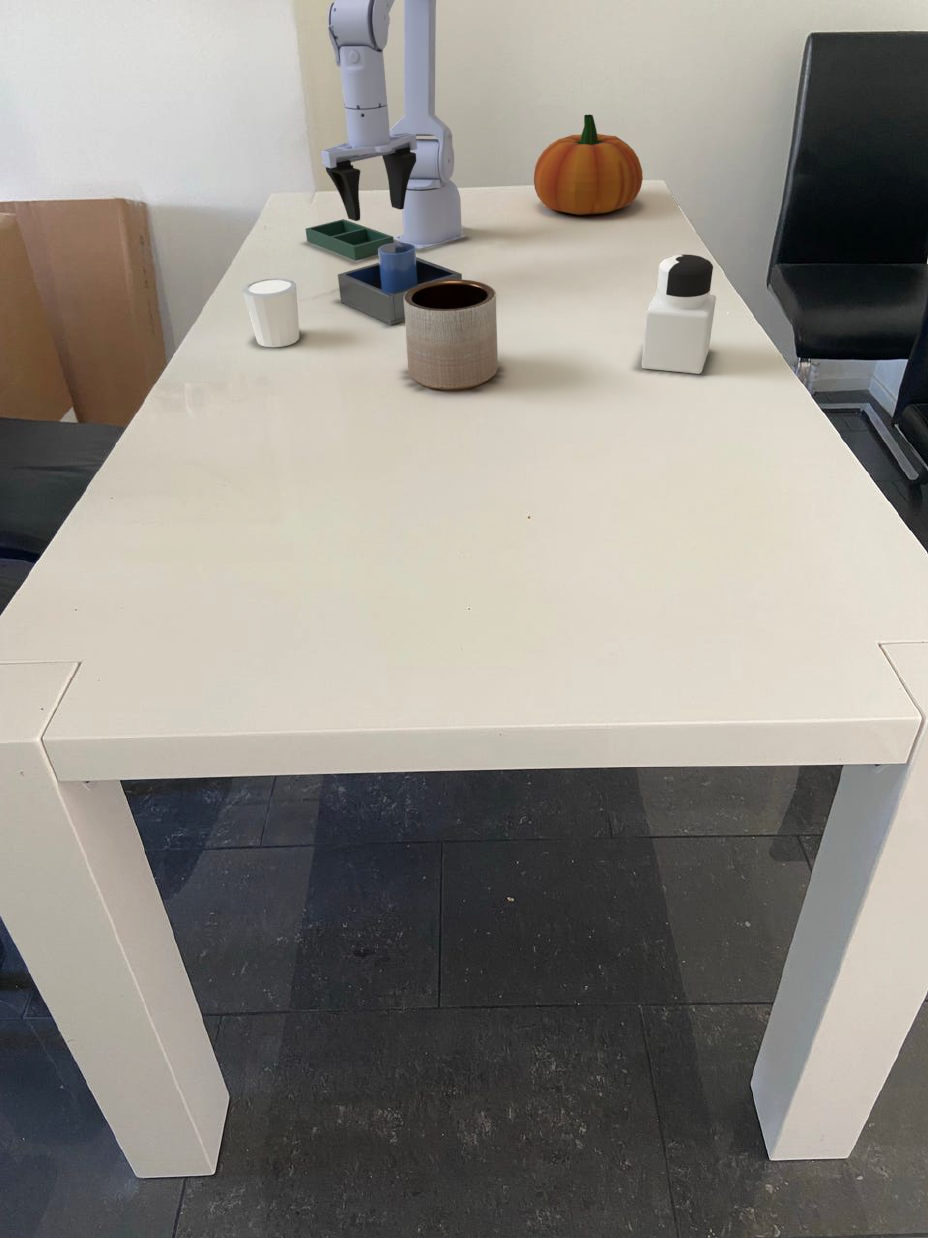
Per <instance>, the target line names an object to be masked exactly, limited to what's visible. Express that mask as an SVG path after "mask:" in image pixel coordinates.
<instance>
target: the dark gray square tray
mask: <svg viewBox="0 0 928 1238" xmlns="http://www.w3.org/2000/svg"><path fill="white" fill-rule="evenodd" d="M416 265H417V280H418V285H421V284H424V283H428V282H432V281H439V280H452V279H459V280H463V273H461V272H458V271H455V270H452V269H450V268H447V267H445V266H442V265H439V264H436V263H433V262H431V261H428V260H425V259H423V258H420V257H417V256H416ZM337 280H338V281H337V282H338V289H339V297H340V303H341V304H343V305H345V306H348V307H350V308H352V309H354V310H357V311H359V312H360V313H364V314H366V315H368V316H369V317H372V318H375V319H376V320H379V321H381V322H383V323H385V324H387V325H389V326H393V325H396V324H397V325H398V324H400V323H403V322H405V313H404V299H403V298H404V295H405V293H406V292H407V291H408V290H410V289H411V288H413V287H415V286H413V287H409V288H406V289H403V290H400V291H396V292H393V293H388V292H385V291H383V290H382V288H381V278H380V267H379V262H376V263H373V264H370V265H369V264H368V265H366V266H362V267H359V268H355V269H351V270H348V271H345V272H341V273H338V274H337ZM418 285H416V286H418Z"/></svg>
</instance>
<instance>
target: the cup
mask: <svg viewBox="0 0 928 1238" xmlns="http://www.w3.org/2000/svg"><path fill="white" fill-rule="evenodd" d="M416 252H417V251H416V247H415V246H414V245H412V244H409V243H402V242H394V243H390V244H386V245H383V246H381V247H379V248H378V254H377V256H378V263H379V267H380V278H381V288H382V290H383V291H385V292H388V293H393V292H396V291H400V290H403V289H406V288H409V287H413V286H416V285H418V280H417V265H416V257H417V253H416Z"/></svg>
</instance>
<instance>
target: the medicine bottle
mask: <svg viewBox="0 0 928 1238" xmlns="http://www.w3.org/2000/svg"><path fill="white" fill-rule="evenodd" d="M713 271H714V265H713V263H712V262H711V261H710V260H709V259H707V258H704V257H703V256H700V255H696V254H675V255H672V256H669V257H667V258H664V259H662V261H661V262H660V263H659V265H658V274H657V283H656V285H657V286H656V292H655V294H654V295H653V298H652V300H651V302H650V304H649V305H648V308H647V309H646V313H645V324H644V335H643V345H642V346H643V347H642V358H641V368H642V369H645V370H656V371H667V372H675V373H686V374H696V375H699V374H701V373H702V372H703V369H704V366H705V363H706V359H707V357H708V353H709V351H710V345H711V337H712V329H713V323H714V315H715V310H716V309H715V307H716V301H717V296H716V295H715V294H711V287H712V278H713Z"/></svg>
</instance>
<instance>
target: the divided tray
mask: <svg viewBox="0 0 928 1238" xmlns="http://www.w3.org/2000/svg"><path fill="white" fill-rule="evenodd" d="M305 235H306V236H305V237H306V242H308V243H310V244H313V245H315V246H318V247H321V248H323V249H325V250H328V251H331V252H333V253H336V254H338V255H341V256H343V257H346V258H348V259H350V260H353V261H359V260H362V259H366V258H369V257H373V256H378V248H379V247H381V246H383V245H386V244H390V243H395V242H394V241H395V240H394V236H392V235H390V234H386V233H384V232H381V231H378V230H376V229H373V228H370V227H367V226H364V225H361V224H359V223H356V222H353V221H350V220H347V219H344V218H341V219H338V220H334V221H331V222H326V223H323V224H318V225H314V226H310V227H307V228H305Z"/></svg>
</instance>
